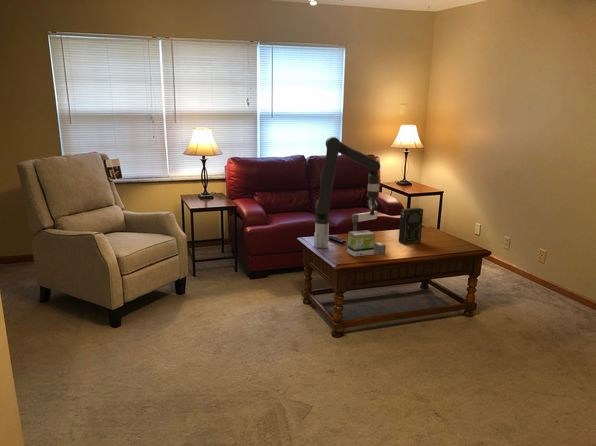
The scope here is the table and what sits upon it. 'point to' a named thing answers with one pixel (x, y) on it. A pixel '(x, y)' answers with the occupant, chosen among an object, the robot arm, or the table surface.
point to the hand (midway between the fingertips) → (372, 215)
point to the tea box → (361, 243)
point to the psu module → (379, 248)
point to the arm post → (354, 226)
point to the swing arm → (363, 217)
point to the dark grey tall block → (410, 225)
